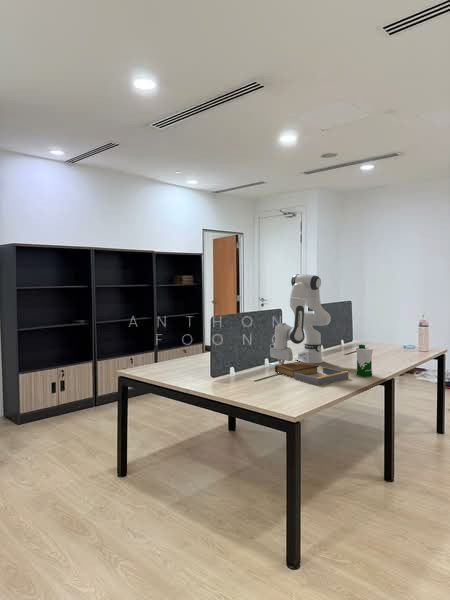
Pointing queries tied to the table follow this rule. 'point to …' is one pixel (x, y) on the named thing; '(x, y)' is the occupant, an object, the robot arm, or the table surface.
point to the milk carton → (364, 361)
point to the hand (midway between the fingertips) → (281, 365)
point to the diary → (296, 368)
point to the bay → (332, 377)
